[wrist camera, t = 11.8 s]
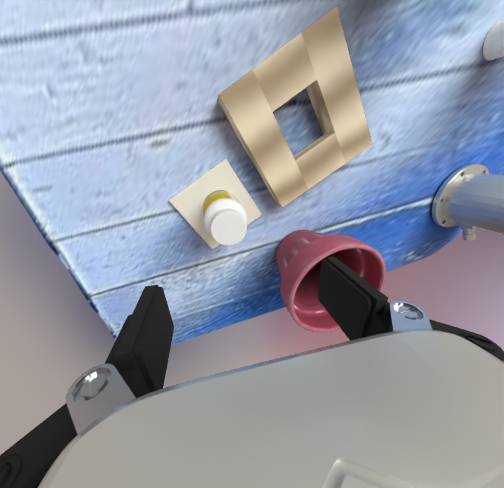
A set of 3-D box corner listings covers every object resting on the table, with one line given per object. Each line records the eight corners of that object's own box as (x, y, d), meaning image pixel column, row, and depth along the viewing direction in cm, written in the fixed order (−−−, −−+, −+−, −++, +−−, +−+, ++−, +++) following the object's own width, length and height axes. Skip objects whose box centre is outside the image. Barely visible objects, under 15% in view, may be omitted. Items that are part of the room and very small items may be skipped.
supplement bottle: (196, 214, 29) (194, 239, 21) (213, 182, 28) (218, 193, 19) (228, 230, 31) (238, 258, 23) (245, 200, 30) (262, 218, 21)
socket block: (358, 145, 31) (372, 144, 29) (276, 203, 32) (282, 207, 29) (321, 22, 24) (336, 5, 21) (216, 101, 25) (218, 94, 22)
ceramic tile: (261, 213, 32) (262, 214, 32) (212, 248, 33) (212, 249, 32) (225, 158, 28) (225, 158, 27) (169, 199, 28) (168, 200, 28)
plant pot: (329, 204, 34) (391, 228, 23) (334, 268, 41) (385, 311, 29) (253, 231, 33) (280, 269, 22) (271, 292, 40) (299, 347, 28)
